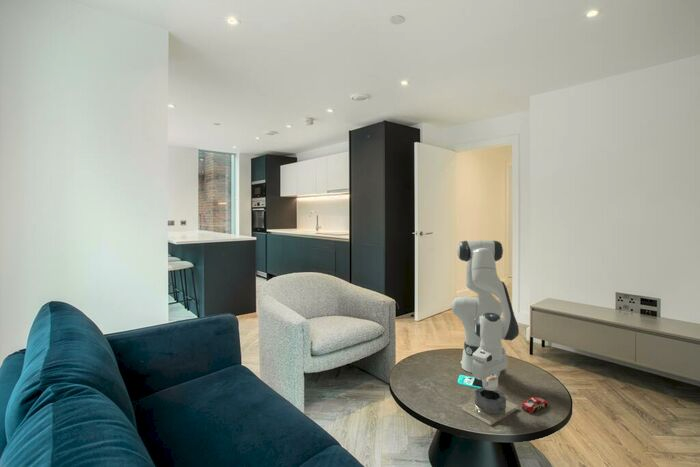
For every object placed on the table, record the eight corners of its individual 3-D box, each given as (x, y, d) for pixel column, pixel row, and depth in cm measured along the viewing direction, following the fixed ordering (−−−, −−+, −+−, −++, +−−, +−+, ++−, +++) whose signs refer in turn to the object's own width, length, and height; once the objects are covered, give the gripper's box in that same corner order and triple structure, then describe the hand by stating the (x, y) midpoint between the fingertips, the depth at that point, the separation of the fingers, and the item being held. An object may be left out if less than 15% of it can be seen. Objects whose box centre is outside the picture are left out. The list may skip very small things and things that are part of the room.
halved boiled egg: (488, 382, 156) (488, 373, 156) (500, 388, 151) (500, 378, 151) (479, 386, 153) (480, 377, 153) (492, 392, 148) (492, 382, 148)
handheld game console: (460, 376, 185) (460, 373, 184) (493, 383, 177) (493, 380, 177) (456, 384, 176) (456, 382, 176) (490, 392, 168) (490, 389, 168)
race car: (538, 400, 160) (538, 392, 160) (549, 406, 155) (550, 397, 155) (519, 408, 154) (519, 399, 154) (530, 415, 149) (530, 405, 149)
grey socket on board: (489, 395, 164) (489, 381, 164) (518, 409, 153) (518, 394, 153) (461, 409, 153) (461, 394, 153) (490, 425, 142) (490, 409, 141)
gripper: (498, 344, 160) (497, 374, 161) (469, 355, 148) (469, 387, 149) (511, 348, 155) (510, 379, 155) (483, 360, 143) (482, 393, 144)
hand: (490, 383), depth 152 cm, fingers closed on halved boiled egg, 6 cm apart
